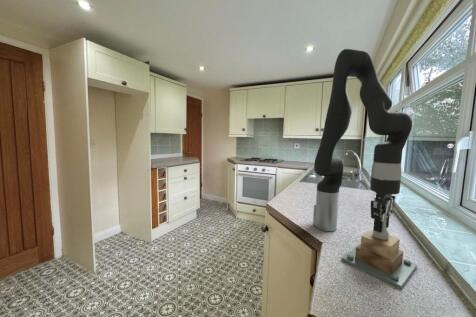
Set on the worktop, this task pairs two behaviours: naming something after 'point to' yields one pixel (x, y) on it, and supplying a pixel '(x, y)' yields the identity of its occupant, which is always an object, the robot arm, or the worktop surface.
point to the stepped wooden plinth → (380, 252)
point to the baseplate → (394, 279)
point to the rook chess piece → (384, 234)
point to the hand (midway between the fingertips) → (380, 228)
